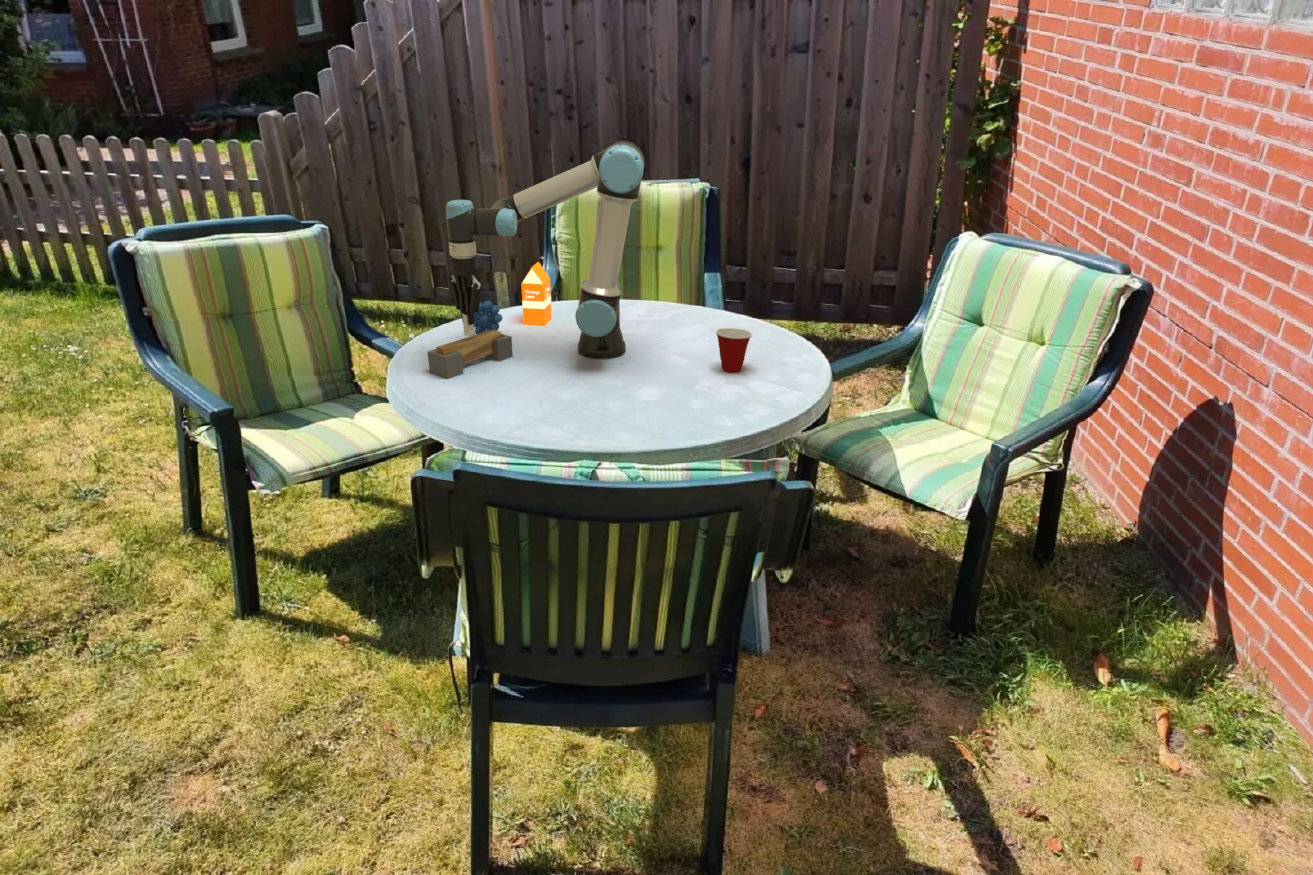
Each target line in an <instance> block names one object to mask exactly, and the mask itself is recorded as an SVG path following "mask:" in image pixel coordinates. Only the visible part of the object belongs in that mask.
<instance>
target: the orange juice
mask: <svg viewBox="0 0 1313 875" xmlns="http://www.w3.org/2000/svg"><path fill="white" fill-rule="evenodd" d="M551 293H552V292H551V278H550V276H549V274H548V273H547V272H546V270H545V269H544V268H543V266H542V264H541V263H540V262H539V261H538V262H536V263H535V264H533V265H532V266H531V268H530V270H529V271H528V272H527V274H526V276H525V278H524V279H523V281H522V282H521V298H522V300H521V303H522V314H523V316H522V317H523V325H524V326H535V327H536V326H538V327H546V326H547V324H548V323H549V322H550V321H551V320H552V317H553V316H552V294H551Z"/></svg>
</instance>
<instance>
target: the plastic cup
mask: <svg viewBox="0 0 1313 875" xmlns="http://www.w3.org/2000/svg"><path fill="white" fill-rule="evenodd" d="M715 334H716V336H717V342H718V349H719V356H720V358H719V359H720V363H721V368H722V371H723V372H725V373H728V374H729V373H730V374H736V373H739V372H741V371H742V369H743V364H744V361H745V357H746V354H747V348H748V345H749V342H750V339H751V338H752V336H753V333H752V332H751V331H748V330H746V329H741V328H737V327H736V328H734V327H723V328H718V329H716V330H715Z"/></svg>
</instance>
